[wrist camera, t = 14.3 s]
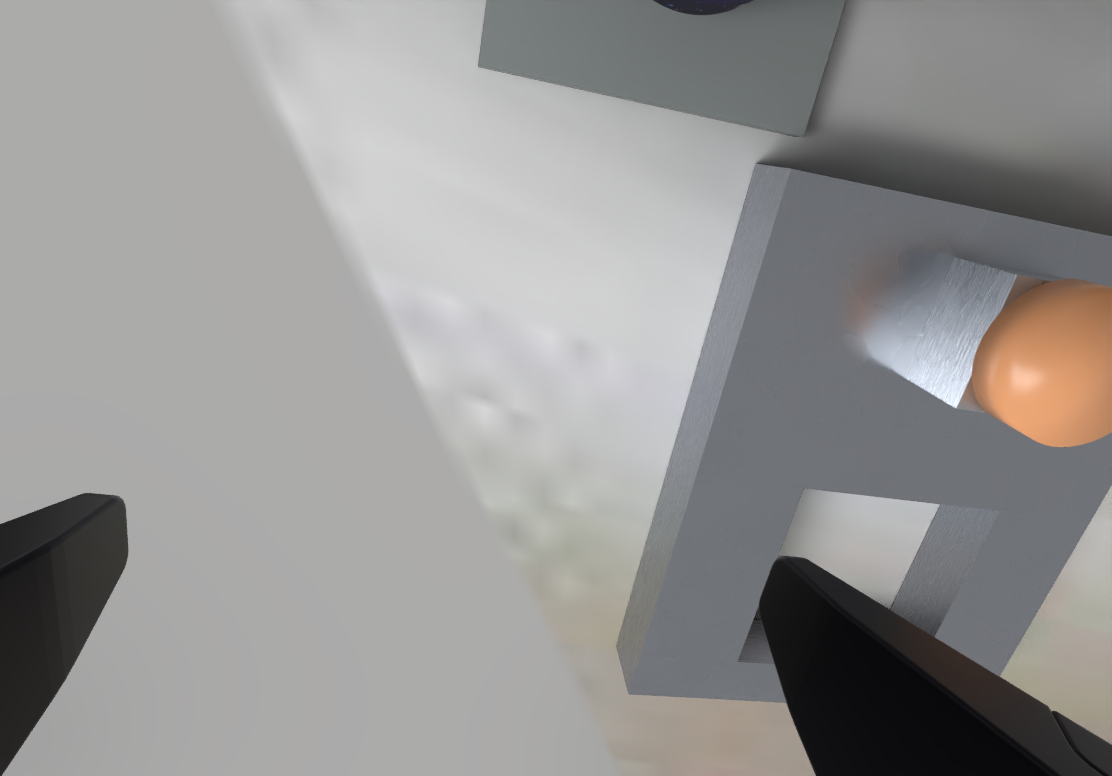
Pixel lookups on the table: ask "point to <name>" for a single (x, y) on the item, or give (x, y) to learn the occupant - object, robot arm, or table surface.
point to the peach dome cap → (1050, 364)
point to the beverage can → (702, 6)
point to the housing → (858, 428)
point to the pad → (673, 54)
